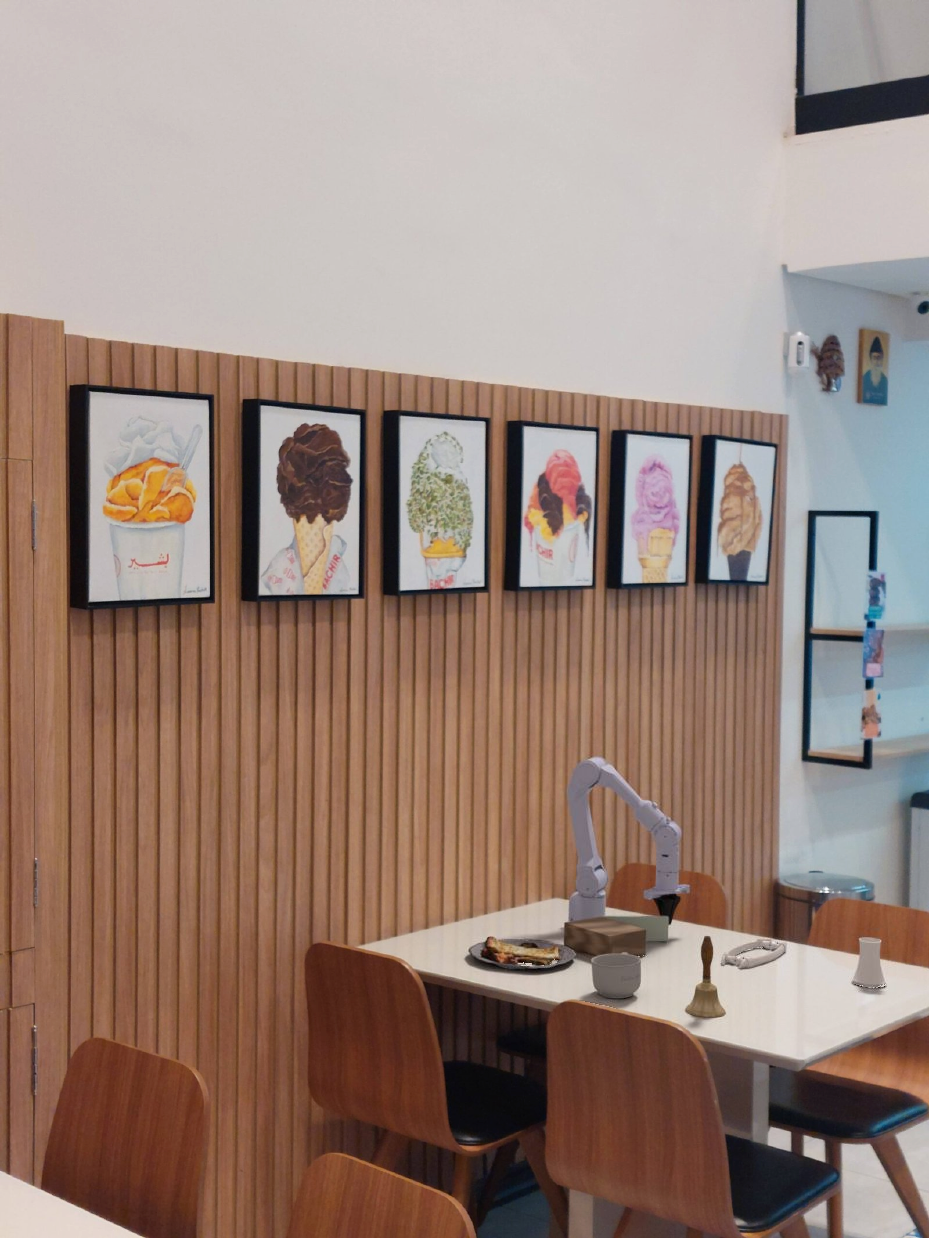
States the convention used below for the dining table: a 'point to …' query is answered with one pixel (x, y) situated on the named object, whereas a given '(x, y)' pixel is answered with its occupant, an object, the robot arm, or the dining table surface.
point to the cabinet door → (646, 925)
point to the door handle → (751, 962)
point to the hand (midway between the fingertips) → (666, 924)
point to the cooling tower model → (869, 964)
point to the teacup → (616, 974)
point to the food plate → (521, 953)
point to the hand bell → (706, 988)
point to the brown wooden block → (604, 937)
